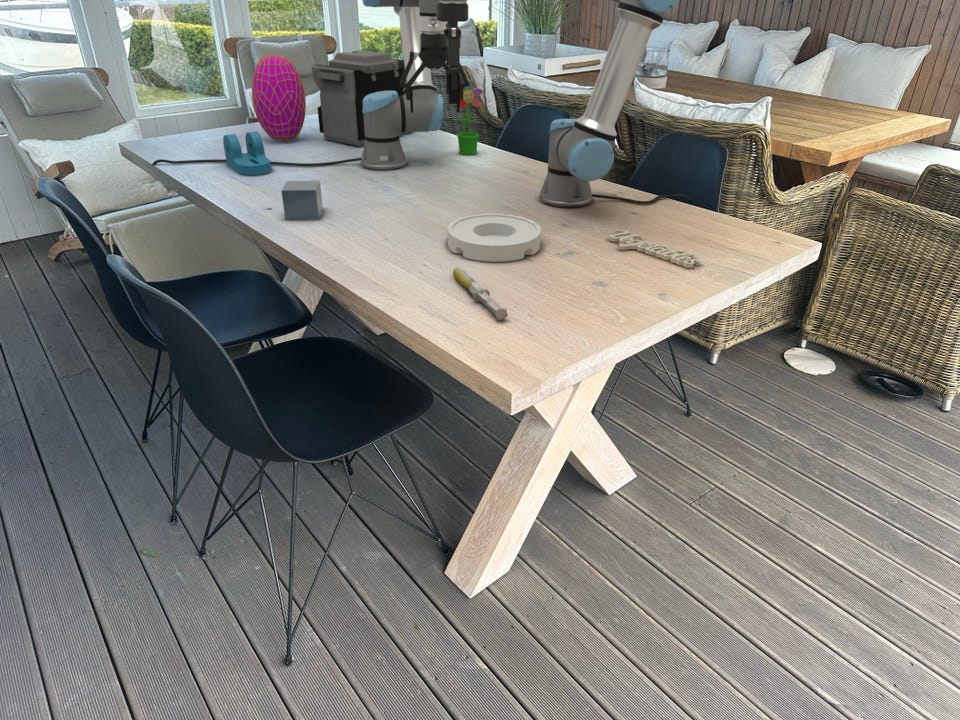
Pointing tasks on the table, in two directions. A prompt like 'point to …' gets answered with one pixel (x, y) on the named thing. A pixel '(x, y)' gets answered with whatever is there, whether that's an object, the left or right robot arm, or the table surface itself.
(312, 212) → the block
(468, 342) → the table surface
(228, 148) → the camera mount
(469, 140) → the potted flower
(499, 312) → the syringe
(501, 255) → the ashtray
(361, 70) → the electronic device
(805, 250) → the table surface
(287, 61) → the decorative egg
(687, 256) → the decorative sign
